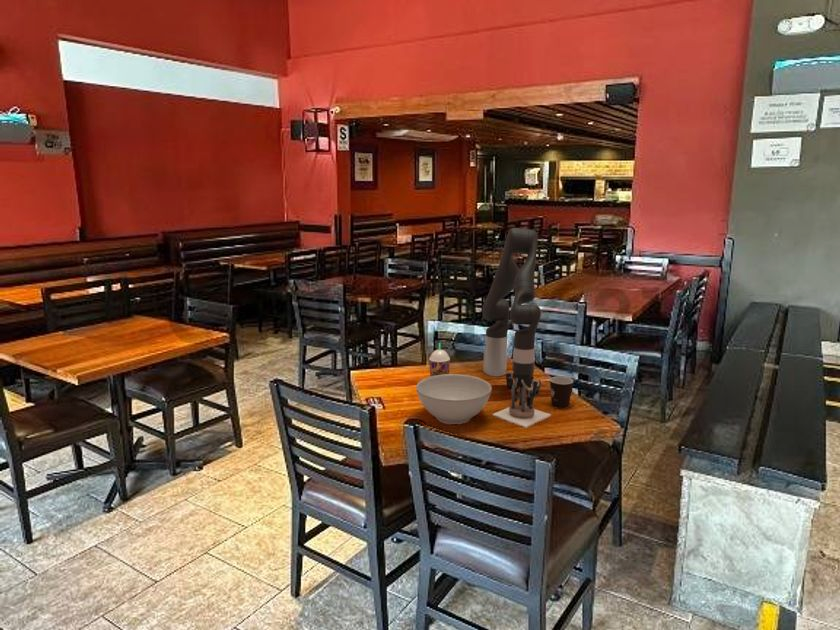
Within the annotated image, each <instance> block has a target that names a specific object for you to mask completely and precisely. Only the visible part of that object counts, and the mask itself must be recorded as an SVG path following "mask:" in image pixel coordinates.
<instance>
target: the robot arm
mask: <svg viewBox="0 0 840 630" xmlns="http://www.w3.org/2000/svg"><path fill="white" fill-rule="evenodd" d="M537 251H538V233H537V231H536V230H533V229H529V228H521V227H512V228H510V229H509V231H508V233H507V236H506V238H505V243H504V247H503V251H502V255H501V257H500V261H499V263H498V266H497V268H496V271H495V275H494V278H493V280H492V283H491V287H490V289H489V292H488V294H487V296H486V297H485V300H484V302H483V306H482V316H483V317H482V318H484V320H486V321H489V322H493V321H496V323H494V324H493V325H491V326H489V327H487V328H486V330H485V350H484V351H483V365H482V366H483V367H482V369H483V373H485V375H487V376H491V377H503V376H505V379H506V388H507V390H510V392H511V393H512V387H515V394H517V393H519V391H518V390H519V389H520V387H523V390H526V395H527V403H526V404H527V407H531V406H532V405H533V404H534V399H533V397H534V398H535V397H538V396H539V394H540V388H541V383H542V382H541V380H539V379H538V380H536V379H535V378H534V372H535V352H536V351H535V338H536V332H537V328H538V325H539V323H540V320H541V317H542V316H541V315H542V310H541V308H540V306H539V305H537V304H526V303H530V302H532V301H533V300H534V299H535V296H536V295H535V292H536V291H535V271H536V262H537V254H538V253H537ZM513 254H522V255H523V254H525V255H527V257H526V260H525V261H524V264H523V265H522V266H521V268H520V269H519V267H518V264H517V263H516V261H515V259H514V256H513ZM513 290H514V299H513V303H512V306H511V308H510V303H509V301H508V300H507V298H506V299H505V297H506V296H507V295H509V294H510V293H511V292H512V291H513ZM509 320H510V321H511V323H513V324H514V325H526V326H527V325H528V327H526V328H524V329H519V330H517V331H515V332H514V336H513V337H514V339H513V340H514V341H513V346H514V347H513V352H512V371H510V372H507V363H508V362H507V359H508V355H507V354H508V332H509ZM518 400H519V398H517V399H515V403H516V402H518ZM533 406H534V405H533Z"/></svg>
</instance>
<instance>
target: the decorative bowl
mask: <svg viewBox="0 0 840 630" xmlns="http://www.w3.org/2000/svg"><path fill="white" fill-rule="evenodd" d="M415 388H416V392H417V393H416V394H417V396H418V399H419V401H420V402H421V404H422V406H423V407H424V409H425V410H426V411H427V412H428V413H429V414H430V415H432V416H433V417H435V418H436V420H437V421H438V420H439V421H438V422H440V423H442V422H443V423H442V424H445V423H446V424H445V425H451V424H458V425H463V423H464V424H466V423H468V422H470V420H471V419H472V418H473V417H475V416H476V415H478V414H479V413H480V412H482V410H483V409H484V407H485V406H486V405H487V403H488V401H489V400H490V399H489V398H490V396H491V394H492V390H493V389H492V385H491V383H490V382H488V381H487V380H485V379H483V378H480V377H477V376H474V375H468V374H460V373H459V374H458V373H449V374H444V375H436V376H428V377H425V378H423V379H422V380H421V379H420V381H419V382H418V383H417V384H416V386H415Z"/></svg>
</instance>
